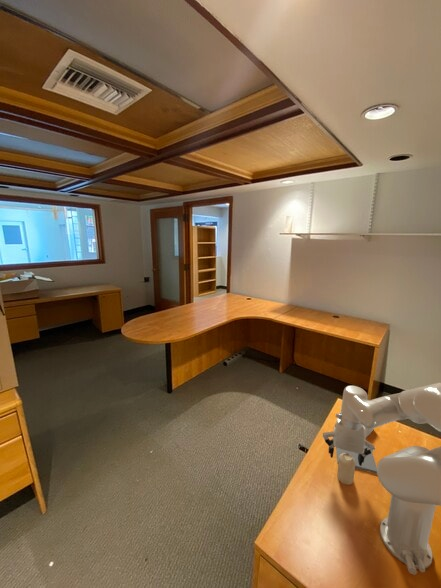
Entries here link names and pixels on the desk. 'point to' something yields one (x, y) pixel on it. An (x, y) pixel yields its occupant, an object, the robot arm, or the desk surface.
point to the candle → (346, 468)
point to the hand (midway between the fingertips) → (345, 458)
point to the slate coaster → (366, 466)
